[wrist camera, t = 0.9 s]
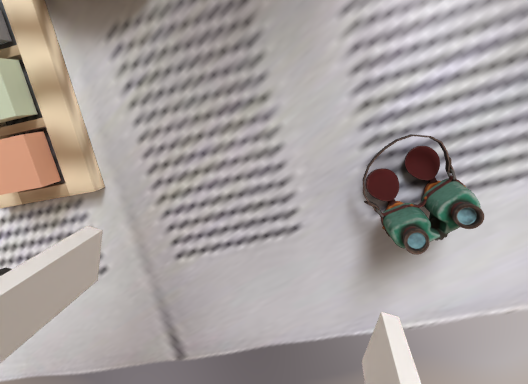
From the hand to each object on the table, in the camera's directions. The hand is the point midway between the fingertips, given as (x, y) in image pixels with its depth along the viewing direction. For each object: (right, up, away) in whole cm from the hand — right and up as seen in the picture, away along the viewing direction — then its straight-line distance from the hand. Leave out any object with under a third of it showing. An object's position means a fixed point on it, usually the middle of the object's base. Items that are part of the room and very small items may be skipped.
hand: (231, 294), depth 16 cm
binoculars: (+16, +6, +23) cm, 29 cm away
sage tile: (-28, +16, +25) cm, 41 cm away
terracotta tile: (-26, +8, +27) cm, 38 cm away
